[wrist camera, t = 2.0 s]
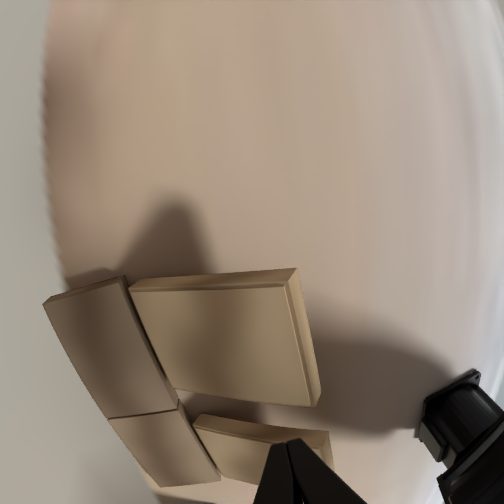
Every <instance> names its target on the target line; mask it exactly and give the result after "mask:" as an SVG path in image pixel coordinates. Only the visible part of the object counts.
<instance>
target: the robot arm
mask: <svg viewBox="0 0 504 504" xmlns="http://www.w3.org/2000/svg"><path fill="white" fill-rule="evenodd" d="M480 377H481V373H480V372H479V371H475V372H473V373H472V374H470V375H468V376H467V377H465V378H463V379H461V380H460V381H458V382H456V383H454V384H452V385H450V386H449V387H447V388H445V389H443V390H441V391H439V392H437V393H435V394H433V395H431V396H429V397H428V398H426V400H425V401H424V406H423V414H422V419H421V424H420V430H419V440H420V442H423V443H424V444H425V446H426V447H427V449H428V450H429V452H430V453H431V455H432V456H433V458H434V459H435V461H436V462H441V461H442V462H443V463H444V465H445V466H446V468H447V469H448V470H447V471H445V472H444V473H443V474H441V475H440V476H438V477H437V478H436V479H437V481H438V484H439V485H438V486H439V489H440V491H441V494H442V497H443V499H444V502H445V504H504V411H503V410H502V409H501V408H500V407H499V406H498V405H497V404H496V403H495V402H494V401H493V400H492V399H491V398H490V397H489V396H488V395H487V394H486V393H485V392H484V391H483V390H482V389H481V388H480V387H479V381H480ZM302 499H303V500H302ZM303 502H304V504H367V503H366V502H365V501H364V500H363V499H362V498H361V497H360V496H359V495H358V494H356V493H355V492H354V491H353V490H352V489H351V488H350V487H349V486H348V485H347V484H346V483H345V482H344V481H343V480H342V479H341V478H340V477H339V476H338V475H337V474H336V473H335V472H334V471H333V470H332V469H331V468H330V467H329V466H328V465H327V464H326V463H325V462H324V461H323V460H322V459H321V458H320V457H319V456H318V455H317V454H316V453H315V452H314V451H313V450H312V449H311V448H310V447H309V446H308V445H307V444H306V442H305V441H304V440H303V439H302V438H299V437H298V438H294V439H291V440H288V441H287V442H279V443H275V444H272V445H271V446H270V449H269V452H268V456H267V459H266V463H265V466H264V470H263V473H262V476H261V480H260V483H259V486H258V489H257V493H256V496H255V499H254V502H253V504H303Z"/></svg>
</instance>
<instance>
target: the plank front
mask: <svg viewBox="0 0 504 504" xmlns="http://www.w3.org/2000/svg"><path fill="white" fill-rule="evenodd" d="M128 290H129V292H130V295H131V297H132V300H133V302H134V304H135V307H136V309H137V312H138V314H139V316H140V319H141V321H142V323H143V326H144V328H145V330H146V333H147V335H148V337H149V339H150V342H151V344H152V346H153V348H154V350H155V352H156V355H157V357H158V359H159V361H160V363H161V365H162V367H163V369H164V371H165V373H166V375H167V377H168V379H169V382H170V383H171V385H172V387H173V388H175V389H179V390H184V391H189V392H195V393H200V394H206V395H211V396H217V397H224V398H230V399H237V400H244V401H252V402H260V403H268V404H278V405H288V406H300V407H314V408H315V407H316V405H317V402H318V399H319V397H320V394H321V386H320V380H319V375H318V369H317V364H316V359H315V354H314V348H313V343H312V338H311V333H310V328H309V323H308V318H307V313H306V308H305V303H304V298H303V294H302V289H301V284H300V280H299V275H298V270H297V268H288V269H275V270H262V271H249V272H235V273H221V274H207V275H192V276H177V277H161V278H144V279H141V280H139V281H138V282H136V283H135V284H133V285H132V286H130V287H129V288H128Z"/></svg>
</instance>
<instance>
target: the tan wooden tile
mask: <svg viewBox="0 0 504 504" xmlns="http://www.w3.org/2000/svg"><path fill="white" fill-rule="evenodd" d="M128 288H129V287H128V284H127V282H126V279H125V276H120V277H117V278H113V279H110V280H106V281H103V282H99V283H96V284H92V285H89V286H85V287H82V288H78V289H75V290H71V291H68V292H65V293H61V294H58V295H54V296H51V297H50V298H49V299H47V300H46V301H45V302H44V303H43V307H44V309H45V311H46V314H47V316H48V318H49V320H50V322H51V324H52V326H53V328H54V330H55V332H56V334H57V336H58V338H59V340H60V342H61V344H62V346H63V348H64V350H65V351H66V353H67V355H68V357H69V359H70V361H71V362H72V364H73V366H74V368H75V370H76V371H77V373H78V375H79V376H80V378H81V380H82V381H83V383H84V385H85V386H86V388H87V390H88V391H89V393H90V394H91V396H92V398H93V399H94V401H95V402H96V404H97V405H98V407H99V408H100V410H101V411H102V413H103V414H104V416H105V417H106V418H108V419H107V420H108V422H109V423H110V425H111V426H112V427H113V429H114V430H115V432H116V433H117V434H118V436H119V437H120V438H121V440H122V441H123V443H124V444H125V445H126V446H127V448H128V449H129V450H130V452H131V453H132V454H133V456H134V457H135V458H136V459H137V461H138V462H139V463H140V464H141V465H142V467H143V468H144V469H145V470H146V472H147V473H148V474H149V475H150V476H151V477H152V479H153V480H154V481H155V482H156V483H157V484H158V485H159V487H172V486H183V485H193V484H201V483H209V482H216V481H221V475H220V470H219V469H218V467H217V466H216V464H215V462H214V461H213V459H212V457H211V456H210V454H209V452H208V451H207V449H206V447H205V446H204V444H203V442H202V441H201V439H200V437H199V435H198V434H197V432H196V430H195V428H194V427H193V425H192V424H193V423H192V421H191V420H190V418H189V416H188V414H187V412H186V410H185V409H184V407H183V405H182V403H181V401H180V399H178V395H177V393H176V391H175V389H174V388H173V387H172V385H171V383H170V382H169V379H168V377H167V375H166V373H165V371H164V369H163V367H162V365H161V363H160V361H159V359H158V357H157V355H156V352H155V350H154V348H153V346H152V344H151V342H150V339H149V337H148V335H147V333H146V330H145V328H144V326H143V323H142V321H141V319H140V316H139V314H138V312H137V309H136V307H135V304H134V302H133V300H132V297H131V295H130V292H129V290H128Z"/></svg>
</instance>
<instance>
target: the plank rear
mask: <svg viewBox="0 0 504 504" xmlns="http://www.w3.org/2000/svg"><path fill="white" fill-rule="evenodd" d="M192 425H193V427H194V428H195V430H196V432H197V434H198V435H199V437H200V439H201V441H202V442H203V444H204V446H205V447H206V449H207V451H208V452H209V454H210V456H211V457H212V459H213V461H214V462H215V464H216V466H217V467H218V469H219V470H220V472H221V473H222V475H223V476H224V477H227V478H231V479H235V480H239V481H243V482H247V483H251V484H255V485H259V483H260V480H261V476H262V473H263V470H264V466H265V463H266V459H267V456H268V452H269V449H270V446H271V445H272V444H275V443H279V442H287V441H288V440H291V439H294V438H298V437H299V438H302V439H303V440H304V441H305V442H306V444H307V445H308V446H309V447H310V448H311V449H312V450H313V451H314V452H315V453H316V454H317V455H318V456H319V457H320V458H321V459H322V460H323V461H324V462H325V463H326V464H327V465H328V466H329V467H330V468H331V469H332V470H333V471H334V464H333V457H332V451H331V445H330V438H329V432H328V431H319V430H307V429H297V428H288V427H280V426H272V425H265V424H258V423H251V422H245V421H239V420H233V419H228V418H223V417H217V416H213V415H208V414H203V413H201V414H200V415H199V416H198V418H197V419H196V420H195V422H194V423H193V424H192ZM334 472H335V471H334Z"/></svg>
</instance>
